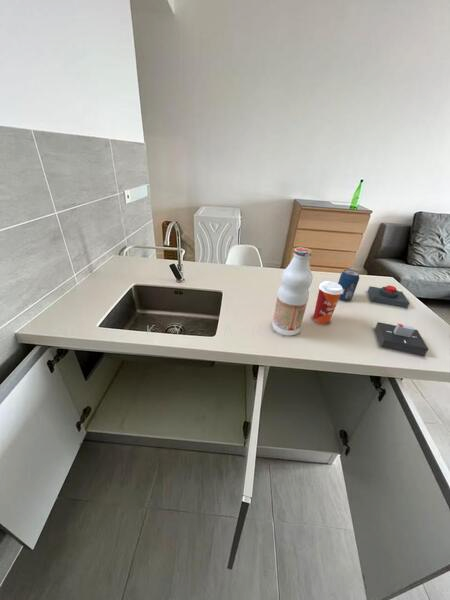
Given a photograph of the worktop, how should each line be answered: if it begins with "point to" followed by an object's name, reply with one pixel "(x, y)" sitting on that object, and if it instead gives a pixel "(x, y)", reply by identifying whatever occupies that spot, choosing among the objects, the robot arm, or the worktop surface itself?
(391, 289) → the power button
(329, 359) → the worktop surface
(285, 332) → the fruit juice
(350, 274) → the soda can
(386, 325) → the timer panel
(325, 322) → the paper cup
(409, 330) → the timer knob
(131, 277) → the worktop surface
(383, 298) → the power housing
